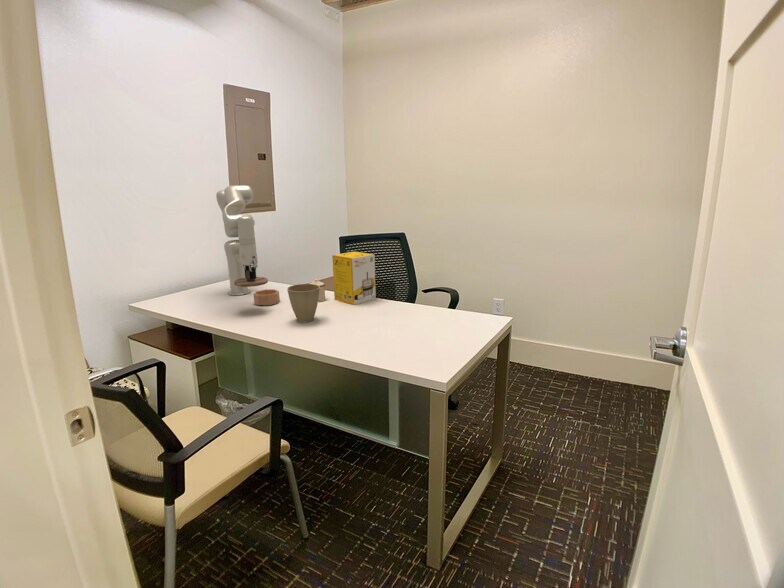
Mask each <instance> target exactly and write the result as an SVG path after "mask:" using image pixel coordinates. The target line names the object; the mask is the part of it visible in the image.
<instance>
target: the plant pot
mask: <svg viewBox="0 0 784 588" xmlns="http://www.w3.org/2000/svg"><path fill="white" fill-rule="evenodd" d="M286 290H287V295H288V299H289V302H290V306H291V308H292V311H293V314H294V315H295V318H296V320H297V322H299V321H300V322H299V323H309V322H313V320H314V318H315V315H316V312H317V308H318V303H319V302H318V298H319V290H320V286H318V285H315V284H309V283H298V284H293V285H290V286H288V287H287V288H286Z"/></svg>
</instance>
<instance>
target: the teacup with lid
mask: <svg viewBox="0 0 784 588" xmlns="http://www.w3.org/2000/svg"><path fill="white" fill-rule="evenodd" d="M308 284H315V285H318V286H320V290H319V298H318V303H319V302H323V301H325V300H326V289H325V285H326V284H325V282H322V281H320V280H319V279H318V278H316V279H314V280H313V281H312V282H310V283H308Z"/></svg>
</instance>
